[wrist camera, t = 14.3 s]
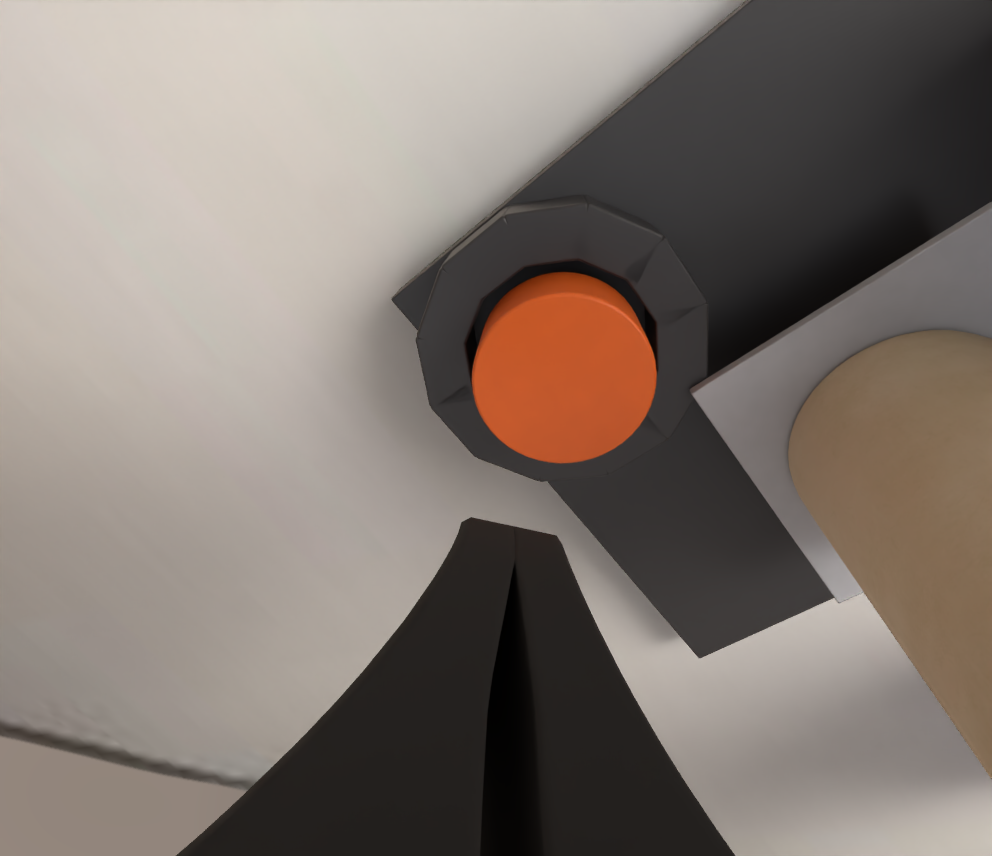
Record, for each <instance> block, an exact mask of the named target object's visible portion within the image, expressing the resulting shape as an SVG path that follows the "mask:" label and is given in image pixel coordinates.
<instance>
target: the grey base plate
mask: <svg viewBox="0 0 992 856" xmlns="http://www.w3.org/2000/svg"><path fill="white" fill-rule="evenodd" d="M990 202H992V0H746V1H745V2H744V3H743V4H742V5H740V6H739V7H738V8H737V9H736V10H734V11H733V12H732V13H731V14H729V15H728V16H727V17H726V18H725V19H723V20H722V21H721V22H720V23H719V24H717V25H716V26H715V27H714V28H713V29H711V30H710V31H709V32H708V33H707V34H705V35H704V36H703V37H702V38H701V39H699V40H698V41H697V42H696V43H695V44H693V45H692V46H691V47H690V48H689V49H687V50H686V51H685V52H684V53H683V54H681V55H680V56H679V57H678V58H677V59H675V60H674V61H673V62H672V63H671V64H669V65H668V66H667V67H666V68H665V69H663V70H662V71H661V72H660V73H659V74H657V75H656V76H655V77H654V78H653V79H651V80H650V81H649V82H648V83H647V84H645V85H644V86H643V87H642V88H641V89H639V90H638V91H637V92H636V93H635V94H633V95H632V96H631V97H630V98H629V99H627V100H626V101H625V102H624V103H623V104H621V105H620V106H619V107H618V108H617V109H615V110H614V111H613V112H612V113H611V114H609V115H608V116H607V117H606V118H605V119H603V120H602V121H601V122H600V123H599V124H597V125H596V126H595V127H594V128H593V129H591V130H590V131H589V132H588V133H587V134H585V135H584V136H583V137H582V138H581V139H579V140H578V141H577V142H576V143H575V144H573V145H572V146H571V147H570V148H568V149H567V150H566V151H565V152H564V153H562V154H561V155H560V156H559V157H558V158H556V159H555V160H554V161H553V162H552V163H550V164H549V165H548V166H547V167H546V168H544V169H543V170H542V171H541V172H540V173H538V174H537V175H536V176H535V177H534V178H532V179H531V180H530V181H529V182H528V183H526V184H525V185H524V186H523V187H522V188H520V189H519V190H518V191H517V192H516V193H514V194H513V195H512V196H511V197H510V198H508V199H507V200H506V201H505V202H504V203H502V204H501V205H500V206H499V207H498V208H496V209H495V210H494V211H493V212H492V213H490V214H489V215H488V216H487V217H486V218H484V219H483V220H482V221H481V222H480V223H478V224H477V225H476V226H475V227H474V228H472V229H471V230H470V231H469V232H468V233H466V234H465V235H464V236H463V237H462V238H460V239H459V240H458V241H457V242H456V243H454V244H453V245H452V246H451V247H450V248H448V249H447V250H446V251H445V252H444V253H442V254H441V255H440V256H439V257H438V258H436V259H435V260H434V261H433V262H432V263H430V264H429V265H428V266H427V267H426V268H424V269H423V270H422V271H421V272H420V273H418V274H417V275H416V276H415V277H414V278H412V279H411V280H410V281H409V282H408V283H406V284H405V285H404V286H403V287H401V288H400V290H399V291H398V292H397V293H396V294H395V295H394V296H393V298H392V301H393V302H394V303H395V304H396V306H397V307H398V308H399V309H400V310H401V311H402V313H403V314H404V315H405V316H406V317H407V318H408V320H409V321H410V322H411V323H412V324H413V325H414V327H415V328H416V329H417V330H418V332H417V338H416V344H417V348H418V353H419V358H420V362H421V367H422V372H423V376H424V381H425V386H426V390H427V395H428V400H429V404H430V406H431V408H432V410H433V411H434V412H435V413H436V414H437V415H438V416H439V417H440V418H441V420H442V421H443V422H444V423H445V424H446V425H447V426H448V427H449V428H450V430H451V431H452V432H453V433H454V434H455V435H456V436H457V437H458V439H459V440H460V441H461V442H462V443H463V444H464V445H465V446H466V447H467V449H468V450H469V451H470V452H471V453H472V454H473V455H474V456H475V457H477V458H478V459H481V460H484V461H486V462H489V463H492V464H494V465H497V466H500V467H502V468H505V469H508V470H510V471H513V472H515V473H518V474H521V475H523V476H526V477H529V478H531V479H534V480H537V481H539V480H540V481H541V482H543V481H547V482H548V483H549V484H550V485H551V486H552V487H553V489H554V490H555V491H556V492H557V493H558V494H559V496H560V497H561V498H562V499H563V500H564V501H565V503H566V504H567V505H568V506H569V507H570V508H571V510H572V511H573V512H574V513H575V514H576V515H577V517H578V518H579V519H580V520H581V521H582V522H583V524H584V525H585V526H586V527H587V528H588V529H589V531H590V532H591V533H592V534H593V535H594V536H595V538H596V539H597V540H598V541H599V542H600V543H601V545H602V546H603V547H604V548H605V549H606V550H607V552H608V553H609V554H610V555H611V556H612V557H613V559H614V560H615V561H616V562H617V563H618V564H619V566H620V567H621V568H622V569H623V570H624V571H625V573H626V574H627V575H628V576H629V577H630V578H631V580H632V581H633V582H634V583H635V584H636V585H637V587H638V588H639V589H640V590H641V591H642V592H643V594H644V595H645V596H646V597H647V598H648V599H649V601H650V602H651V603H652V604H653V605H654V606H655V607H656V609H657V610H658V611H659V612H660V613H661V614H662V616H663V617H664V618H665V619H666V620H667V621H668V623H669V624H670V625H671V626H672V627H673V628H674V630H675V631H676V632H677V633H678V634H679V635H680V637H681V638H682V639H683V640H684V641H685V642H686V644H687V645H688V646H689V647H690V648H691V649H692V651H693V652H694V653H695V654H696V655H697V656H698V658H702V657H704V656H706V655H709V654H711V653H713V652H715V651H717V650H720V649H722V648H724V647H726V646H728V645H731V644H733V643H735V642H737V641H740V640H742V639H744V638H746V637H748V636H751V635H753V634H755V633H757V632H759V631H762V630H764V629H766V628H768V627H770V626H773V625H775V624H777V623H779V622H782V621H784V620H786V619H788V618H790V617H793V616H795V615H797V614H799V613H801V612H804V611H806V610H808V609H810V608H812V607H815V606H817V605H819V604H821V603H824V602H826V601H828V600H830V599H832V598H834V596H833V595H832V593H831V592H830V590H829V589H828V588H827V586H826V585H825V583H824V582H823V581H822V579H821V578H820V576H819V575H818V573H817V572H816V571H815V569H814V568H813V566H812V565H811V563H810V562H809V561H808V559H807V558H806V556H805V555H804V554H803V552H802V551H801V549H800V548H799V546H798V545H797V544H796V542H795V541H794V539H793V538H792V536H791V535H790V534H789V532H788V531H787V529H786V528H785V527H784V525H783V524H782V522H781V521H780V519H779V518H778V517H777V515H776V514H775V512H774V511H773V509H772V508H771V507H770V505H769V504H768V502H767V501H766V499H765V498H764V497H763V495H762V494H761V492H760V491H759V490H758V488H757V487H756V485H755V484H754V482H753V481H752V480H751V478H750V477H749V475H748V474H747V472H746V471H745V470H744V468H743V467H742V465H741V464H740V463H739V461H738V460H737V458H736V457H735V455H734V454H733V453H732V451H731V450H730V448H729V447H728V445H727V444H726V443H725V441H724V440H723V438H722V437H721V436H720V434H719V433H718V431H717V430H716V428H715V427H714V426H713V424H712V423H711V421H710V420H709V418H708V417H707V416H706V414H705V413H704V411H703V410H702V409H701V407H700V406H699V404H698V403H697V401H696V400H695V399H694V397H693V396H692V394H691V392H690V389H691V388H692V387H694V386H695V385H697V384H699V383H700V382H702V381H703V380H705V379H707V378H708V377H710V376H711V375H713V374H715V373H716V372H718V371H720V370H721V369H723V368H724V367H726V366H728V365H729V364H731V363H732V362H734V361H736V360H737V359H739V358H740V357H742V356H744V355H745V354H747V353H748V352H750V351H752V350H753V349H755V348H757V347H758V346H760V345H761V344H763V343H765V342H766V341H768V340H769V339H771V338H773V337H774V336H776V335H777V334H779V333H781V332H782V331H784V330H786V329H787V328H789V327H790V326H792V325H794V324H795V323H797V322H798V321H800V320H802V319H803V318H805V317H806V316H808V315H810V314H811V313H813V312H814V311H816V310H818V309H819V308H821V307H823V306H824V305H826V304H827V303H829V302H831V301H832V300H834V299H835V298H837V297H839V296H840V295H842V294H843V293H845V292H847V291H848V290H850V289H851V288H853V287H855V286H856V285H858V284H860V283H861V282H863V281H864V280H866V279H868V278H869V277H871V276H872V275H874V274H876V273H877V272H879V271H880V270H882V269H884V268H885V267H887V266H888V265H890V264H892V263H893V262H895V261H897V260H898V259H900V258H901V257H903V256H905V255H906V254H908V253H909V252H911V251H913V250H914V249H916V248H917V247H919V246H921V245H922V244H924V243H925V242H927V241H929V240H930V239H932V238H934V237H935V236H937V235H938V234H940V233H942V232H943V231H945V230H946V229H948V228H950V227H951V226H953V225H954V224H956V223H958V222H959V221H961V220H962V219H964V218H966V217H967V216H969V215H971V214H972V213H974V212H975V211H977V210H979V209H980V208H982V207H983V206H985V205H987V204H988V203H990ZM554 272H573V273H579V274H584V275H588V276H591V277H594V278H597V279H599V280H601V281H603V282H605V283H607V284H608V285H610V286H611V287H612V288H614V289H615V290H616V291H618V292H619V293H620V294H621V295H622V296H623V297H624V298H625V299H626V301H627V302H628V303H629V304H630V306H631V307H632V309H633V311H634V312H635V314H636V316H637V318H638V320H639V322H640V324H641V326H642V328H643V330H644V332H645V334H646V336H647V338H648V341H649V343H650V345H651V348H652V350H653V354H654V358H655V361H656V370H657V380H656V389H655V394H654V398H653V401H652V404H651V407H650V409H649V411H648V413H647V415H646V417H645V418H644V420H643V421H642V423H641V424H640V426H639V427H638V428H637V429H636V430H635V432H634V433H633V434H632V435H631V436H630V437H629V438H628V439H626V440H625V441H624V442H623V443H622V444H620V445H619V446H617V447H616V448H615V449H613V450H611V451H609V452H607V453H605V454H603V455H601V456H598V457H596V458H593V459H589V460H585V461H581V462H574V463H550V462H544V461H539V460H536V459H532V458H529V457H527V456H524V455H522V454H520V453H518V452H516V451H514V450H513V449H511V448H509V447H508V446H507V445H505V444H504V443H503V442H502V441H500V440H499V439H498V438H497V437H496V436H495V435H494V434H493V433H492V432H491V430H490V429H489V428H488V426H487V425H486V424H485V422H484V421H483V419H482V417H481V415H480V413H479V411H478V408H477V406H476V403H475V399H474V395H473V389H472V369H473V363H474V359H475V355H476V352H477V349H478V345H479V342H480V338H481V335H482V332H483V329H484V326H485V323H486V321H487V319H488V317H489V315H490V313H491V311H492V310H493V308H494V307H495V305H496V304H497V303H498V302H499V301H500V300H501V298H502V297H503V296H504V295H506V294H507V293H508V292H509V291H510V290H511V289H513V288H514V287H516V286H517V285H519V284H520V283H522V282H524V281H526V280H528V279H530V278H533V277H536V276H539V275H543V274H548V273H554Z"/></svg>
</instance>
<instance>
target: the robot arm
mask: <svg viewBox="0 0 992 856" xmlns="http://www.w3.org/2000/svg"><path fill="white" fill-rule="evenodd" d="M176 856H735V855H734V853H733V852H732V850H731V849H730V847H729V846H728V845H727V843H726V842H725V840H724V839H723V838H722V836H721V835H720V833H719V832H718V831H717V829H716V828H715V826H714V825H713V823H712V822H711V820H710V819H709V817H708V816H707V814H706V813H705V811H704V810H703V808H702V807H701V805H700V804H699V802H698V801H697V799H696V798H695V796H694V795H693V793H692V792H691V790H690V789H689V787H688V786H687V784H686V783H685V781H684V779H683V778H682V776H681V775H680V773H679V772H678V770H677V768H676V767H675V765H674V764H673V762H672V760H671V759H670V757H669V756H668V754H667V752H666V751H665V749H664V747H663V746H662V744H661V742H660V741H659V739H658V737H657V736H656V734H655V732H654V731H653V729H652V727H651V725H650V724H649V722H648V720H647V718H646V717H645V715H644V713H643V712H642V710H641V708H640V706H639V705H638V703H637V701H636V699H635V698H634V696H633V694H632V692H631V690H630V688H629V687H628V685H627V683H626V681H625V679H624V677H623V676H622V674H621V672H620V670H619V668H618V666H617V664H616V662H615V660H614V658H613V656H612V654H611V652H610V650H609V648H608V646H607V644H606V642H605V640H604V638H603V636H602V635H601V633H600V631H599V629H598V626H597V624H596V622H595V620H594V618H593V616H592V614H591V612H590V610H589V607H588V605H587V603H586V601H585V598H584V596H583V594H582V592H581V590H580V587H579V585H578V583H577V580H576V578H575V576H574V573H573V571H572V569H571V566H570V564H569V561H568V559H567V556H566V554H565V551H564V548H563V546H562V544H561V542H560V540H559V539H558V537H557V536H556V535H551V534H546V533H542V532H537V531H532V530H528V529H523V528H519V527H514V526H509V525H505V524H500V523H495V522H491V521H486V520H481V519H477V518H472V517H471V518H469V519H467V520H465V521H463V522H461V526H460V529H459V532H458V535H457V537H456V539H455V541H454V544H453V546H452V548H451V550H450V552H449V553H448V555H447V557H446V559H445V560H444V562H443V564H442V565H441V567H440V569H439V570H438V572H437V574H436V575H435V577H434V579H433V580H432V581H431V583H430V584H429V586H428V587H427V589H426V590H425V592H424V593H423V594H422V596H421V597H420V599H419V600H418V602H417V603H416V604H415V606H414V607H413V609H412V610H411V612H410V613H409V615H408V616H407V617H406V619H405V620H404V621H403V623H402V624H401V625H400V626H399V628H398V629H397V630H396V631H395V633H394V634H393V635H392V636H391V638H390V639H389V640H388V641H387V642H386V644H385V645H384V646H383V647H382V649H381V650H380V651H379V652H378V654H377V655H376V656H375V657H374V659H373V660H372V661H371V662H370V664H369V665H368V666H367V667H366V668H365V670H364V671H363V672H362V673H361V674H360V675H359V677H358V678H357V679H356V680H355V681H354V682H353V683H352V685H351V686H350V687H349V688H348V689H347V690H346V691H345V692H344V694H343V695H342V696H341V697H340V698H339V699H338V700H337V701H336V702H335V703H334V705H333V706H332V707H331V708H330V709H329V710H328V711H327V712H326V713H325V714H324V715H323V716H322V717H321V718H320V719H319V720H318V721H317V723H316V724H315V725H314V726H313V727H312V728H311V729H310V730H309V731H308V732H307V733H306V734H305V735H304V736H303V737H302V738H301V739H300V740H299V741H298V742H297V743H296V744H295V745H294V746H293V747H292V748H291V749H290V750H289V751H288V752H287V753H286V754H285V755H284V756H283V757H282V758H281V759H280V760H279V761H278V762H277V763H276V764H275V765H274V766H273V767H272V768H271V769H270V770H269V771H268V772H267V773H266V774H265V775H263V776H262V777H261V778H260V779H259V780H258V781H257V782H256V783H255V784H254V785H253V786H252V787H251V788H250V789H249V790H248V791H247V792H246V793H245V794H244V795H243V796H242V797H241V798H240V799H239V800H238V801H237V802H235V803H234V804H233V805H232V806H231V807H230V808H229V809H228V810H227V811H226V812H225V813H224V814H223V815H221V816H220V817H219V818H218V819H217V820H216V821H215V822H214V823H213V824H212V825H210V826H209V827H208V828H207V829H206V830H205V831H204V832H203V833H202V834H200V835H199V836H198V837H197V838H196V839H195V840H194V841H193V842H191V843H190V844H189V845H188V846H187V847H186V848H184V849H183V850H182V851H181V852H180V853H179V854H177V855H176Z"/></svg>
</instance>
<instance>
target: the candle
mask: <svg viewBox="0 0 992 856" xmlns="http://www.w3.org/2000/svg"><path fill="white" fill-rule="evenodd" d="M788 460H789V469H790V473H791V477H792V480H793V483H794V486H795V488H796V490H797V492H798V495H799V497H800V498H801V500H802V501H803V503H804V504H805V506H806V508H807V509H808V511H809V512H810V514H811V515H812V517H813V518H814V520H815V521H816V523H817V524H818V526H819V527H820V529H821V530H822V532H823V533H824V535H825V536H826V538H827V539H828V540H829V542H830V543H831V545H832V546H833V548H834V549H835V551H836V552H837V554H838V555H839V557H840V558H841V560H842V561H843V562H844V564H845V565H846V567H847V568H848V570H849V571H850V573H851V574H852V576H853V577H854V579H855V580H856V581H857V583H858V584H859V586H860V587H861V589H862V590H863V592H864V593H865V595H866V596H867V598H868V599H869V600H870V602H871V603H872V605H873V606H874V608H875V609H876V611H877V612H878V614H879V615H880V617H881V618H882V619H883V621H884V622H885V624H886V625H887V627H888V628H889V630H890V631H891V633H892V634H893V636H894V637H895V639H896V640H897V641H898V643H899V644H900V646H901V647H902V649H903V650H904V652H905V653H906V655H907V656H908V658H909V659H910V660H911V662H912V663H913V665H914V666H915V668H916V669H917V671H918V672H919V674H920V675H921V677H922V678H923V679H924V681H925V682H926V684H927V685H928V687H929V688H930V690H931V691H932V693H933V694H934V696H935V697H936V698H937V700H938V701H939V703H940V704H941V706H942V707H943V709H944V710H945V712H946V713H947V715H948V716H949V718H950V719H951V720H952V722H953V723H954V725H955V726H956V728H957V729H958V731H959V732H960V734H961V735H962V737H963V738H964V739H965V741H966V742H967V744H968V745H969V747H970V748H971V750H972V751H973V753H974V754H975V756H976V757H977V758H978V760H979V761H980V763H981V764H982V766H983V767H984V769H985V770H986V772H987V773H988V775H989V776H990V777H991V779H992V339H991V338H988V337H984V336H980V335H977V334H972V333H967V332H961V331H953V330H928V331H919V332H913V333H909V334H904V335H900V336H896V337H893V338H890V339H887V340H884V341H882V342H879V343H877V344H875V345H873V346H871V347H868V348H866V349H864V350H863V351H861V352H859V353H857V354H856V355H854V356H852V357H850V358H849V359H848V360H846V361H845V362H844V363H842V364H841V365H839V366H838V367H837V368H835V369H834V370H833V371H832V372H831V373H830V374H829V375H828V376H827V377H825V378H824V379H823V380H822V382H821V383H820V384H819V385H818V386H817V387H816V388H815V389H814V390H813V392H812V393H811V394H810V396H809V397H808V399H807V400H806V401H805V403H804V405H803V406H802V408H801V410H800V412H799V414H798V416H797V418H796V420H795V423H794V426H793V428H792V432H791V436H790V440H789V449H788Z"/></svg>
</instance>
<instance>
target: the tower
mask: <svg viewBox="0 0 992 856" xmlns="http://www.w3.org/2000/svg"><path fill="white" fill-rule="evenodd" d="M928 330H953V331H961V332H967V333H972V334H977V335H980V336H984V337H988V338H991V339H992V202H990V203H988V204H987V205H985V206H983V207H982V208H980V209H979V210H977V211H975V212H974V213H972V214H971V215H969V216H967V217H966V218H964V219H962V220H961V221H959V222H958V223H956V224H954V225H953V226H951V227H950V228H948V229H946V230H945V231H943V232H942V233H940V234H938V235H937V236H935V237H934V238H932V239H930V240H929V241H927V242H925V243H924V244H922V245H921V246H919V247H917V248H916V249H914V250H913V251H911V252H909V253H908V254H906V255H905V256H903V257H901V258H900V259H898V260H897V261H895V262H893V263H892V264H890V265H888V266H887V267H885V268H884V269H882V270H880V271H879V272H877V273H876V274H874V275H872V276H871V277H869V278H868V279H866V280H864V281H863V282H861V283H860V284H858V285H856V286H855V287H853V288H851V289H850V290H848V291H847V292H845V293H843V294H842V295H840V296H839V297H837V298H835V299H834V300H832V301H831V302H829V303H827V304H826V305H824V306H823V307H821V308H819V309H818V310H816V311H814V312H813V313H811V314H810V315H808V316H806V317H805V318H803V319H802V320H800V321H798V322H797V323H795V324H794V325H792V326H790V327H789V328H787V329H786V330H784V331H782V332H781V333H779V334H777V335H776V336H774V337H773V338H771V339H769V340H768V341H766V342H765V343H763V344H761V345H760V346H758V347H757V348H755V349H753V350H752V351H750V352H748V353H747V354H745V355H744V356H742V357H740V358H739V359H737V360H736V361H734V362H732V363H731V364H729V365H728V366H726V367H724V368H723V369H721V370H720V371H718V372H716V373H715V374H713V375H711V376H710V377H708V378H707V379H705V380H703V381H702V382H700V383H699V384H697V385H695V386H694V387H692V388H691V389H690V392H691V394H692V396H693V397H694V399H695V400H696V401H697V403H698V404H699V406H700V407H701V409H702V410H703V411H704V413H705V414H706V416H707V417H708V418H709V420H710V421H711V423H712V424H713V426H714V427H715V428H716V430H717V431H718V433H719V434H720V436H721V437H722V438H723V440H724V441H725V443H726V444H727V445H728V447H729V448H730V450H731V451H732V453H733V454H734V455H735V457H736V458H737V460H738V461H739V463H740V464H741V465H742V467H743V468H744V470H745V471H746V472H747V474H748V475H749V477H750V478H751V480H752V481H753V482H754V484H755V485H756V487H757V488H758V490H759V491H760V492H761V494H762V495H763V497H764V498H765V499H766V501H767V502H768V504H769V505H770V507H771V508H772V509H773V511H774V512H775V514H776V515H777V517H778V518H779V519H780V521H781V522H782V524H783V525H784V527H785V528H786V529H787V531H788V532H789V534H790V535H791V536H792V538H793V539H794V541H795V542H796V544H797V545H798V546H799V548H800V549H801V551H802V552H803V554H804V555H805V556H806V558H807V559H808V561H809V562H810V563H811V565H812V566H813V568H814V569H815V571H816V572H817V573H818V575H819V576H820V578H821V579H822V581H823V582H824V583H825V585H826V586H827V588H828V589H829V590H830V592H831V593H832V595H833V596H834V598H835V599H836V600H837V602H838V603H841V602H843V601H846V600H848V599H850V598H852V597H854V596H857V595H859V594H861V593H863V590H862V589H861V587H860V586H859V584H858V583H857V581H856V580H855V579H854V577H853V576H852V574H851V573H850V571H849V570H848V568H847V567H846V565H845V564H844V562H843V561H842V560H841V558H840V557H839V555H838V554H837V552H836V551H835V549H834V548H833V546H832V545H831V543H830V542H829V540H828V539H827V538H826V536H825V535H824V533H823V532H822V530H821V529H820V527H819V526H818V524H817V523H816V521H815V520H814V518H813V517H812V515H811V514H810V512H809V511H808V509H807V508H806V506H805V504H804V503H803V501H802V500H801V498H800V497H799V495H798V492H797V490H796V488H795V486H794V483H793V480H792V477H791V473H790V469H789V460H788V449H789V440H790V436H791V432H792V428H793V426H794V423H795V420H796V418H797V416H798V414H799V412H800V410H801V408H802V406H803V405H804V403H805V401H806V400H807V399H808V397H809V396H810V394H811V393H812V392H813V390H814V389H815V388H816V387H817V386H818V385H819V384H820V383H821V382H822V380H823V379H824V378H825V377H827V376H828V375H829V374H830V373H831V372H832V371H833V370H834V369H835V368H837V367H838V366H839V365H841V364H842V363H844V362H845V361H846V360H848V359H849V358H850V357H852V356H854V355H856V354H857V353H859V352H861V351H863V350H864V349H866V348H868V347H871V346H873V345H875V344H877V343H879V342H882V341H884V340H887V339H890V338H893V337H896V336H900V335H904V334H909V333H913V332H919V331H928Z"/></svg>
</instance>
